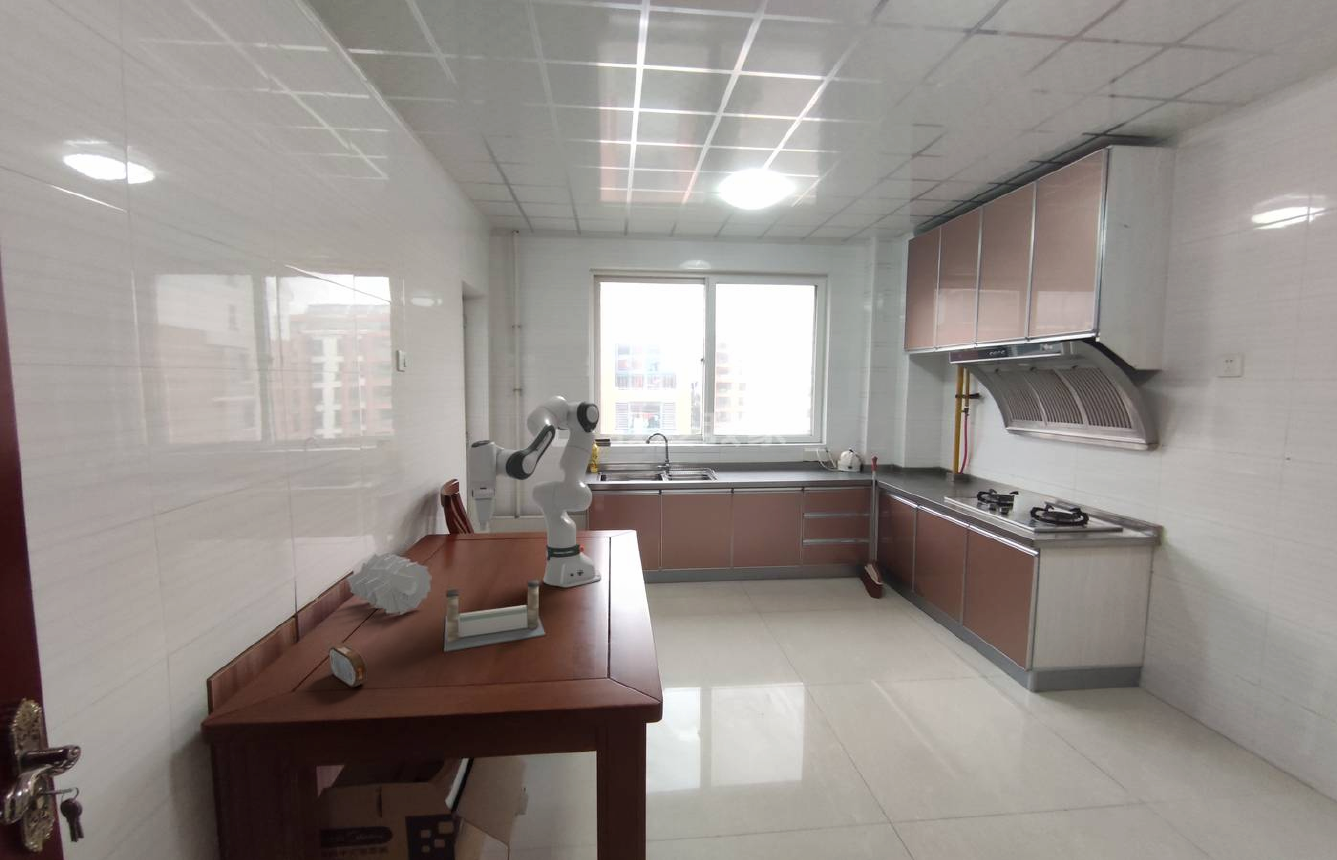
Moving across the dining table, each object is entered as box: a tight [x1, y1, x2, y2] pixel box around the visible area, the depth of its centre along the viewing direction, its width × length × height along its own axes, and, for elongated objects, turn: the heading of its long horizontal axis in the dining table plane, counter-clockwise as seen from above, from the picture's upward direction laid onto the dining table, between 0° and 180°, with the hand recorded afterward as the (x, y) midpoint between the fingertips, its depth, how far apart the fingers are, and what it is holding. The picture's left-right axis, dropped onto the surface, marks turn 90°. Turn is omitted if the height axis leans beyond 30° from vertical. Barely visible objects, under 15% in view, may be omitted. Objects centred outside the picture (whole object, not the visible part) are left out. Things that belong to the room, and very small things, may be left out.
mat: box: [443, 604, 546, 653], centre depth 160 cm, size 28×24×1 cm
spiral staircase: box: [346, 551, 433, 616], centre depth 173 cm, size 18×18×25 cm
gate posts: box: [445, 579, 540, 643], centre depth 154 cm, size 26×4×15 cm, turn 113°
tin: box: [328, 642, 368, 688], centre depth 128 cm, size 15×3×8 cm, turn 56°
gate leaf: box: [459, 604, 527, 637], centre depth 154 cm, size 19×2×6 cm, turn 111°
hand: (482, 529), depth 172 cm, fingers closed
